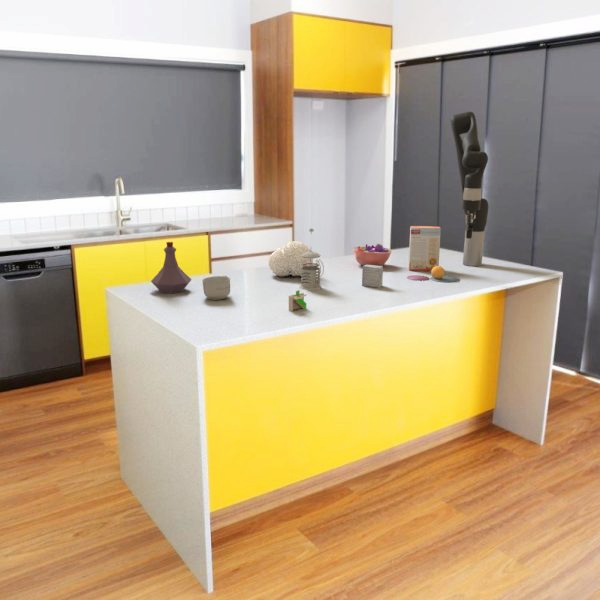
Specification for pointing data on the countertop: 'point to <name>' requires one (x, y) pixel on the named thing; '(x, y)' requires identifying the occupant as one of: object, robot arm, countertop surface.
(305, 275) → the french press
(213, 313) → the countertop surface
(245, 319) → the countertop surface
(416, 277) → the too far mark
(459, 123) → the robot arm
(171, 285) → the flask
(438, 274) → the ball
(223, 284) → the teacup
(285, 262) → the cauliflower
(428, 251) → the cracker box
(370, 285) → the medicine box
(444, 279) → the blue-gray disc
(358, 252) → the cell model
